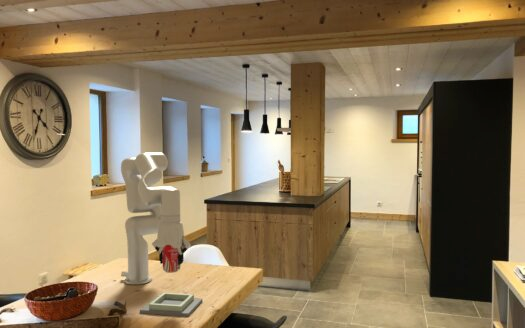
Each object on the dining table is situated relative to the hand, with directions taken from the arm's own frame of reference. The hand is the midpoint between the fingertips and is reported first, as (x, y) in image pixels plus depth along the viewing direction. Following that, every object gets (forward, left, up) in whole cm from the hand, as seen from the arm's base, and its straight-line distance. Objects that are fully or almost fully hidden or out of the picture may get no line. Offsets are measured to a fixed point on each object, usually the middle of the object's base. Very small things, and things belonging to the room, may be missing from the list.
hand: (171, 262), depth 165 cm
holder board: (0, 0, -18) cm, 18 cm away
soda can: (0, 0, -3) cm, 3 cm away
